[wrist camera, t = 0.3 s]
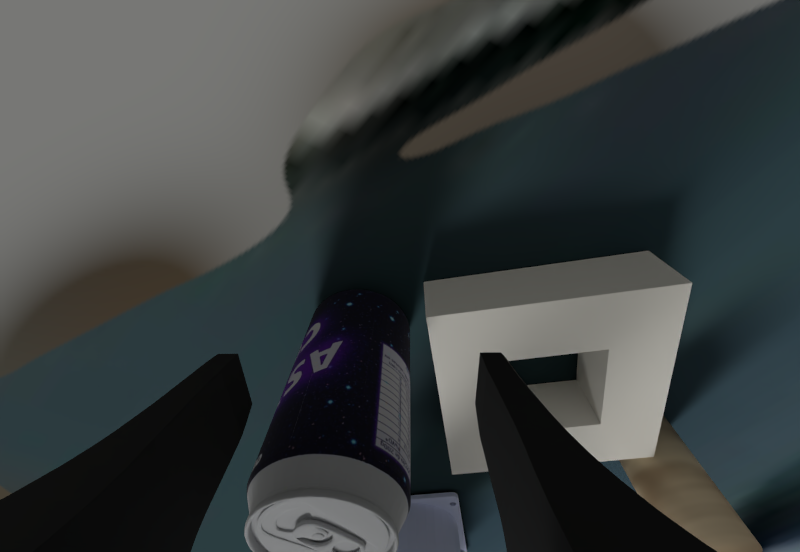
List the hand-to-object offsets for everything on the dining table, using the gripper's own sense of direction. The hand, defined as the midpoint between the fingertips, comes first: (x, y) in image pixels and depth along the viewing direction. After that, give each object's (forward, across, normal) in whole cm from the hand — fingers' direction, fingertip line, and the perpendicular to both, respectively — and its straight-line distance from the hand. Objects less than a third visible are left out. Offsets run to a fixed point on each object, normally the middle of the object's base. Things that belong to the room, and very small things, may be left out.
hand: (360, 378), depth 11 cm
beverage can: (+10, +1, +5) cm, 11 cm away
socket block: (+10, -9, +7) cm, 15 cm away
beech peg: (+10, -17, +14) cm, 24 cm away
